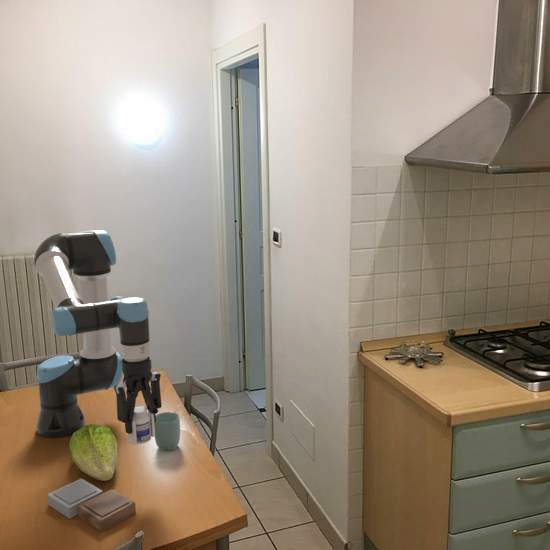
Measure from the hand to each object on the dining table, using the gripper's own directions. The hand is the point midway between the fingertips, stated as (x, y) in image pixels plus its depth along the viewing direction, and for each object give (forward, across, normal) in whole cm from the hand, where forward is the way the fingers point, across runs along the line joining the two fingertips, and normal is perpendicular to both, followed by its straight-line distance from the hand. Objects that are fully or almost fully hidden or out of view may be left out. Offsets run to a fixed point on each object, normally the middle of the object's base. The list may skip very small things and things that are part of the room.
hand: (141, 439), depth 169 cm
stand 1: (+14, -17, +7) cm, 23 cm away
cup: (+14, +18, +12) cm, 26 cm away
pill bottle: (0, 0, 0) cm, 1 cm away
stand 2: (+13, -15, -4) cm, 21 cm away
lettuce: (+14, -3, +18) cm, 23 cm away
